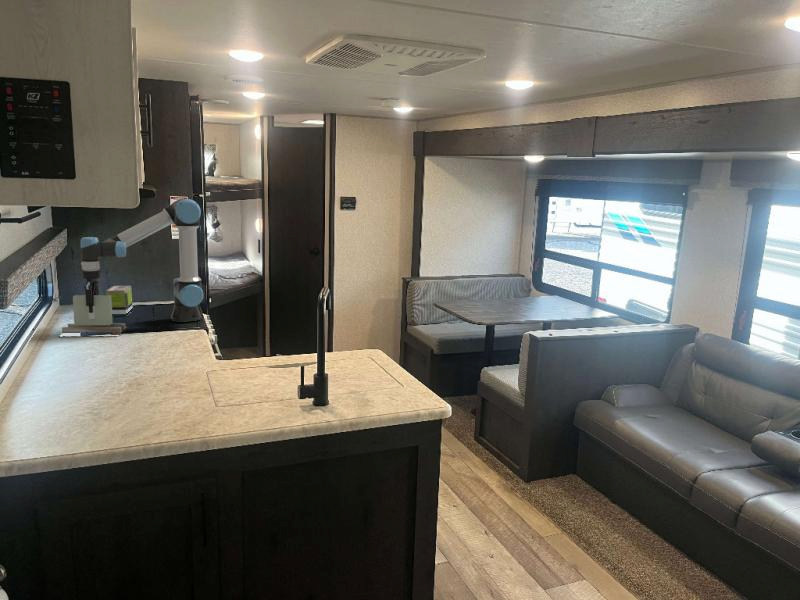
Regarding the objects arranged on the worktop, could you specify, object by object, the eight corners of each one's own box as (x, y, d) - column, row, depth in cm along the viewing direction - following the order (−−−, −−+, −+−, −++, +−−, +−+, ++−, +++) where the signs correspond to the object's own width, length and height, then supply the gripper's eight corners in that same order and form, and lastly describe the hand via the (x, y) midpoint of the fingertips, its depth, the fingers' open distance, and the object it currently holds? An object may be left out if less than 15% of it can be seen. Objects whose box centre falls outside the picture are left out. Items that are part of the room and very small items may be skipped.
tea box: (114, 311, 345) (113, 285, 342) (133, 311, 347) (132, 285, 344) (106, 316, 330) (105, 289, 328) (126, 316, 332) (125, 289, 329)
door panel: (77, 323, 295) (75, 295, 292) (112, 323, 297) (111, 295, 295) (74, 325, 291) (72, 296, 288) (110, 325, 293) (108, 296, 291)
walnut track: (72, 328, 301) (71, 321, 301) (128, 328, 306) (127, 321, 305) (58, 337, 284) (58, 330, 283) (118, 336, 288) (117, 329, 288)
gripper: (88, 267, 297) (91, 314, 301) (76, 272, 280) (79, 321, 285) (104, 267, 298) (107, 314, 302) (93, 272, 282) (96, 321, 286)
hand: (93, 317), depth 293 cm, fingers closed on door panel, 4 cm apart
